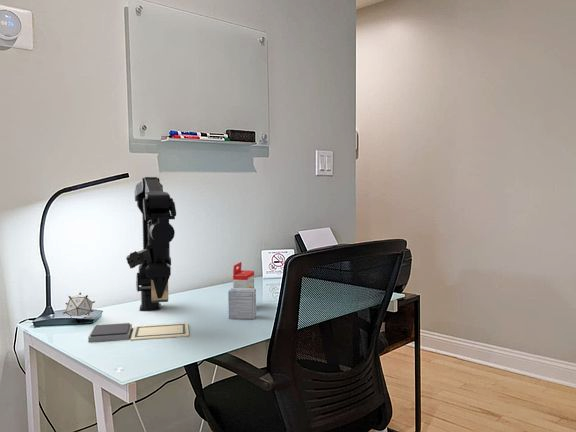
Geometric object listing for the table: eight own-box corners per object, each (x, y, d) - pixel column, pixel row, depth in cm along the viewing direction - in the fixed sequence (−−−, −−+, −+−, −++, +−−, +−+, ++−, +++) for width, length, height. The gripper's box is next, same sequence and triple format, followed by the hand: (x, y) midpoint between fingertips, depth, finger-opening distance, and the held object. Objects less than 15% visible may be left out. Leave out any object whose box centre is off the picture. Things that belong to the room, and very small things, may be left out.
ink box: (247, 311, 157) (247, 266, 156) (232, 311, 158) (232, 265, 157) (254, 305, 165) (254, 261, 164) (240, 304, 166) (240, 261, 165)
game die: (75, 334, 146) (52, 312, 141) (78, 317, 153) (57, 295, 148) (101, 319, 146) (80, 296, 141) (103, 303, 153) (83, 280, 149)
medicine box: (256, 315, 152) (256, 288, 152) (254, 319, 148) (253, 291, 147) (231, 315, 153) (231, 287, 152) (228, 319, 149) (227, 290, 148)
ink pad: (94, 330, 137) (94, 324, 137) (132, 328, 139) (131, 322, 139) (88, 342, 127) (88, 335, 127) (128, 339, 130) (128, 332, 130)
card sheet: (134, 327, 140) (134, 325, 140) (187, 323, 144) (187, 322, 144) (130, 340, 129) (130, 338, 129) (188, 336, 132) (188, 334, 132)
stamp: (152, 298, 137) (151, 277, 137) (168, 298, 138) (168, 276, 138) (151, 302, 133) (151, 280, 133) (168, 301, 134) (167, 280, 134)
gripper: (130, 236, 142) (132, 290, 143) (124, 245, 124) (126, 306, 125) (170, 235, 144) (171, 288, 145) (170, 243, 126) (171, 303, 127)
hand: (159, 296), depth 136 cm, fingers closed on stamp, 4 cm apart
